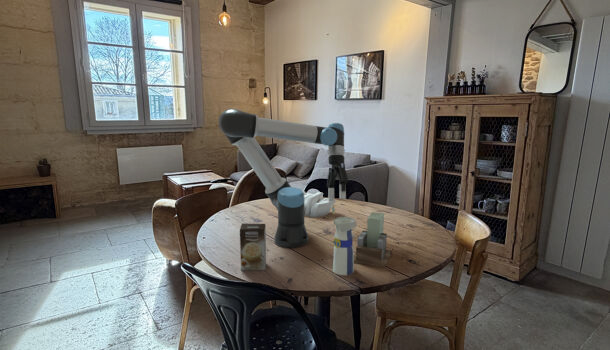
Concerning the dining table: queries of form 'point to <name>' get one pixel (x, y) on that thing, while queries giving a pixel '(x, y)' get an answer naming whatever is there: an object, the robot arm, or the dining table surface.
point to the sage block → (374, 228)
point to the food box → (253, 246)
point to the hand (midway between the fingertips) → (336, 200)
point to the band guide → (372, 251)
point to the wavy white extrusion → (316, 205)
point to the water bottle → (343, 245)
